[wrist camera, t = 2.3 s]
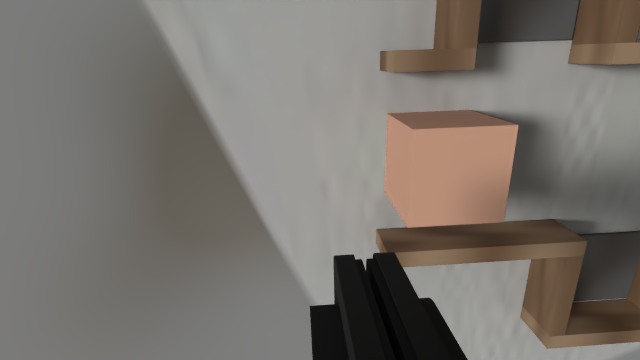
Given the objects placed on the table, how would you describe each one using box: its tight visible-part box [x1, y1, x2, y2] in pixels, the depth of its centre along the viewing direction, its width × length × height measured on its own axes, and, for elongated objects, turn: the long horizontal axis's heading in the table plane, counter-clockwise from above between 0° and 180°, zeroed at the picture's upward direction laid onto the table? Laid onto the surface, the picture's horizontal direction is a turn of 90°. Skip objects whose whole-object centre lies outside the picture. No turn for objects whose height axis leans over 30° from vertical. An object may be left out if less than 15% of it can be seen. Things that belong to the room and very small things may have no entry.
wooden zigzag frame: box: [376, 0, 640, 349], centre depth 21 cm, size 26×26×3 cm
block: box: [385, 110, 519, 228], centre depth 20 cm, size 5×5×5 cm
